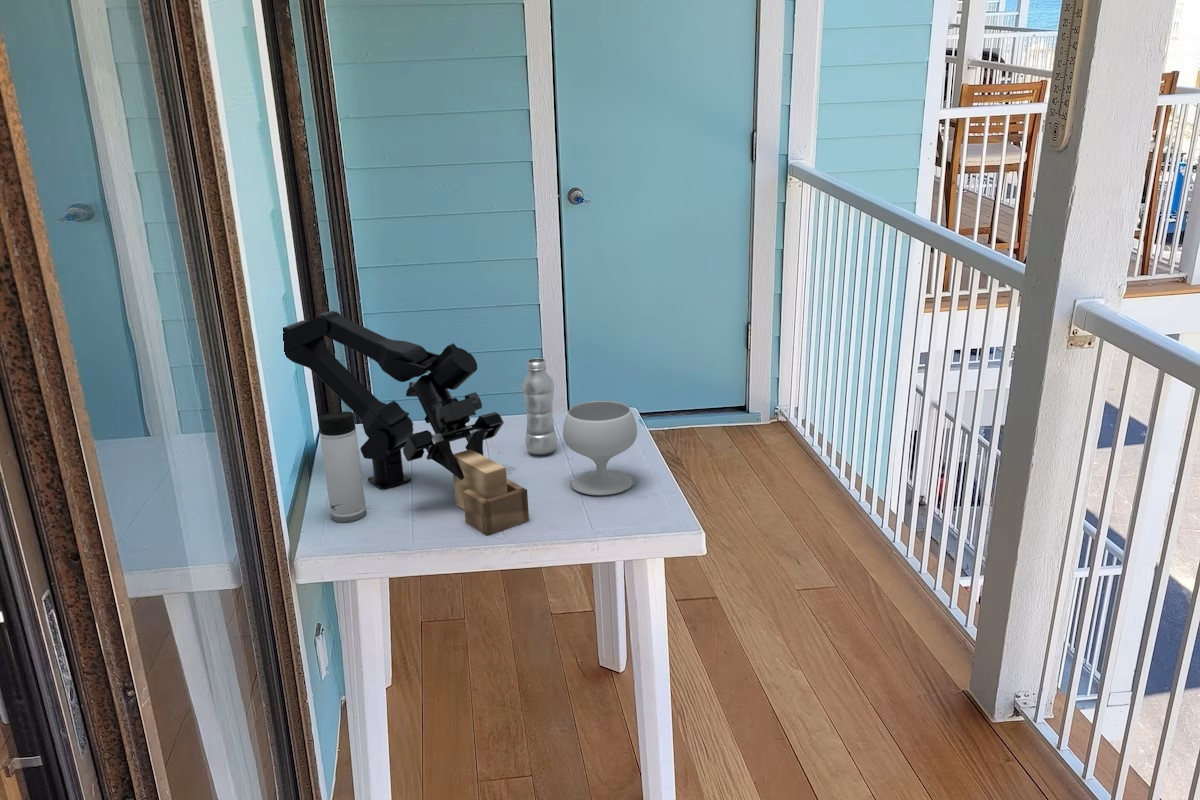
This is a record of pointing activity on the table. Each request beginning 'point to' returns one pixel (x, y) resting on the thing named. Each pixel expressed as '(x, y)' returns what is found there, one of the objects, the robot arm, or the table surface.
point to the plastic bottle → (539, 408)
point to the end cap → (496, 509)
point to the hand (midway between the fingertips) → (473, 475)
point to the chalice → (600, 443)
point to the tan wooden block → (479, 476)
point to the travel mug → (342, 466)
